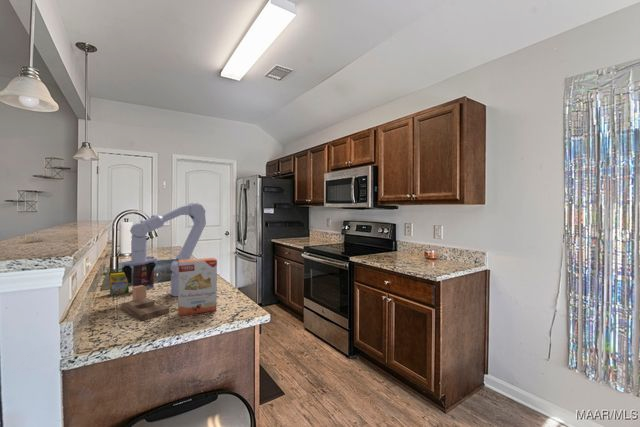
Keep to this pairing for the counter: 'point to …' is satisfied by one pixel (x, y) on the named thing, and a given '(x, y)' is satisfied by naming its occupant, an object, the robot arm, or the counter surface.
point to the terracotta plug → (139, 292)
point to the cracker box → (197, 286)
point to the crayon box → (118, 282)
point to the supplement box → (142, 276)
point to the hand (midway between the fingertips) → (139, 281)
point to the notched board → (144, 308)
